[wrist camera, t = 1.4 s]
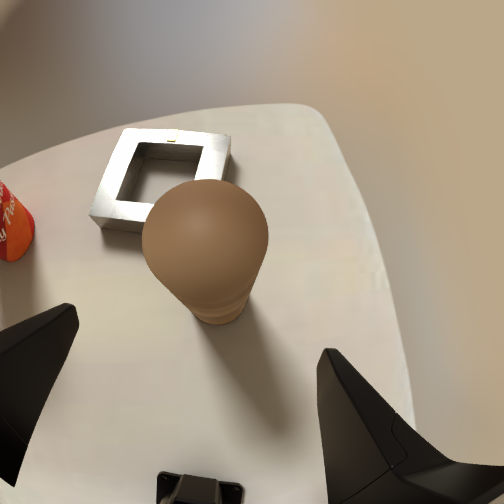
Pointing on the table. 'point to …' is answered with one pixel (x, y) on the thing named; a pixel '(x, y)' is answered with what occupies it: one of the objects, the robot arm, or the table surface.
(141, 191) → the table surface
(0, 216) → the paper cup
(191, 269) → the walnut peg
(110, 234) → the table surface
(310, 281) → the table surface
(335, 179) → the table surface
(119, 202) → the grey square socket base
